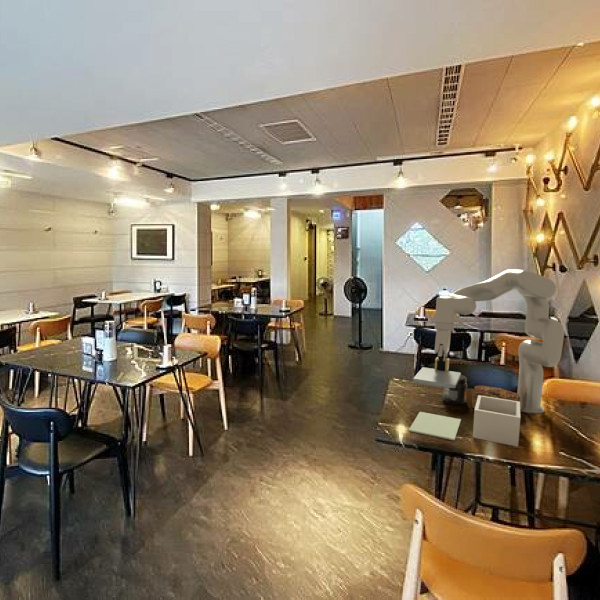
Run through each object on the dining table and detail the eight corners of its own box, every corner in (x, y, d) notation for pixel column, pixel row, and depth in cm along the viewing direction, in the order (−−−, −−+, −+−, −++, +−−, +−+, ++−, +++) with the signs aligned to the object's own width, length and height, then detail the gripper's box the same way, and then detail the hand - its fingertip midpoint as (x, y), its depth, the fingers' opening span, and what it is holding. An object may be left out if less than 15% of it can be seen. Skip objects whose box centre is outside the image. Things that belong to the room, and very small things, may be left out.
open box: (476, 420, 173) (478, 395, 172) (517, 427, 166) (519, 401, 165) (472, 437, 157) (474, 409, 156) (518, 446, 150) (520, 417, 149)
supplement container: (468, 399, 198) (469, 375, 196) (464, 406, 189) (465, 381, 187) (445, 395, 203) (446, 371, 202) (440, 402, 194) (441, 377, 193)
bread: (470, 408, 187) (471, 387, 185) (475, 401, 195) (477, 381, 194) (516, 418, 176) (518, 396, 175) (519, 411, 185) (521, 389, 184)
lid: (423, 370, 178) (424, 355, 178) (461, 376, 171) (462, 360, 171) (412, 383, 160) (413, 367, 159) (454, 390, 153) (455, 373, 152)
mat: (419, 412, 181) (419, 411, 180) (460, 420, 173) (461, 419, 173) (408, 431, 162) (408, 429, 162) (454, 440, 154) (454, 439, 154)
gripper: (438, 322, 180) (435, 363, 182) (431, 328, 165) (428, 372, 167) (456, 324, 177) (453, 365, 179) (451, 330, 162) (448, 375, 164)
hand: (441, 368), depth 173 cm, fingers closed on lid, 4 cm apart
